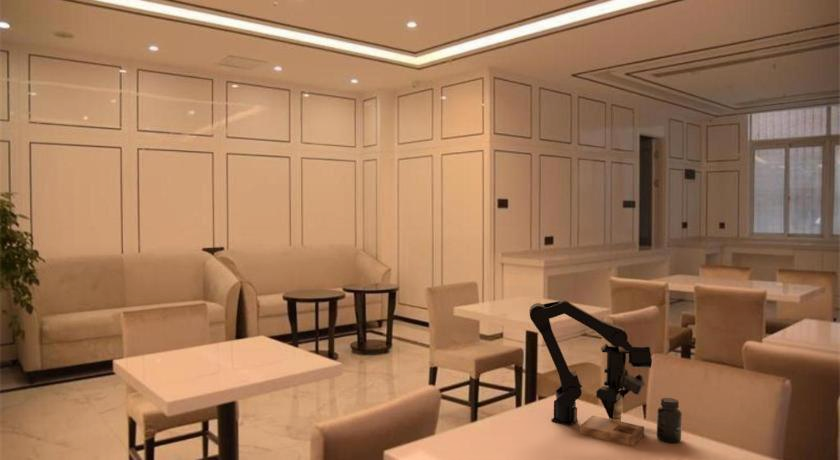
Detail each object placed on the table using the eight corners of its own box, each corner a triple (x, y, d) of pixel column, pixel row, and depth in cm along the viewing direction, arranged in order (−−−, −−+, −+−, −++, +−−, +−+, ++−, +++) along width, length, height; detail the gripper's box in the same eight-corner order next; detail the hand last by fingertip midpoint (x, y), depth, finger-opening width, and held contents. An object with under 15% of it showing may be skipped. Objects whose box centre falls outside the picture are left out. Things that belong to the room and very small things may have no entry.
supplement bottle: (683, 445, 173) (684, 404, 173) (658, 443, 175) (659, 402, 174) (678, 436, 180) (679, 397, 179) (654, 434, 181) (655, 395, 181)
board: (579, 433, 181) (580, 425, 181) (592, 423, 190) (592, 415, 190) (633, 446, 172) (633, 437, 172) (644, 434, 181) (644, 426, 181)
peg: (605, 424, 189) (606, 396, 189) (610, 420, 193) (610, 393, 192) (619, 427, 187) (620, 399, 186) (623, 423, 190) (624, 395, 190)
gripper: (633, 377, 177) (632, 429, 177) (650, 364, 192) (649, 411, 192) (596, 370, 183) (595, 420, 184) (615, 358, 198) (614, 404, 199)
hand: (614, 414), depth 189 cm, fingers open, 8 cm apart
